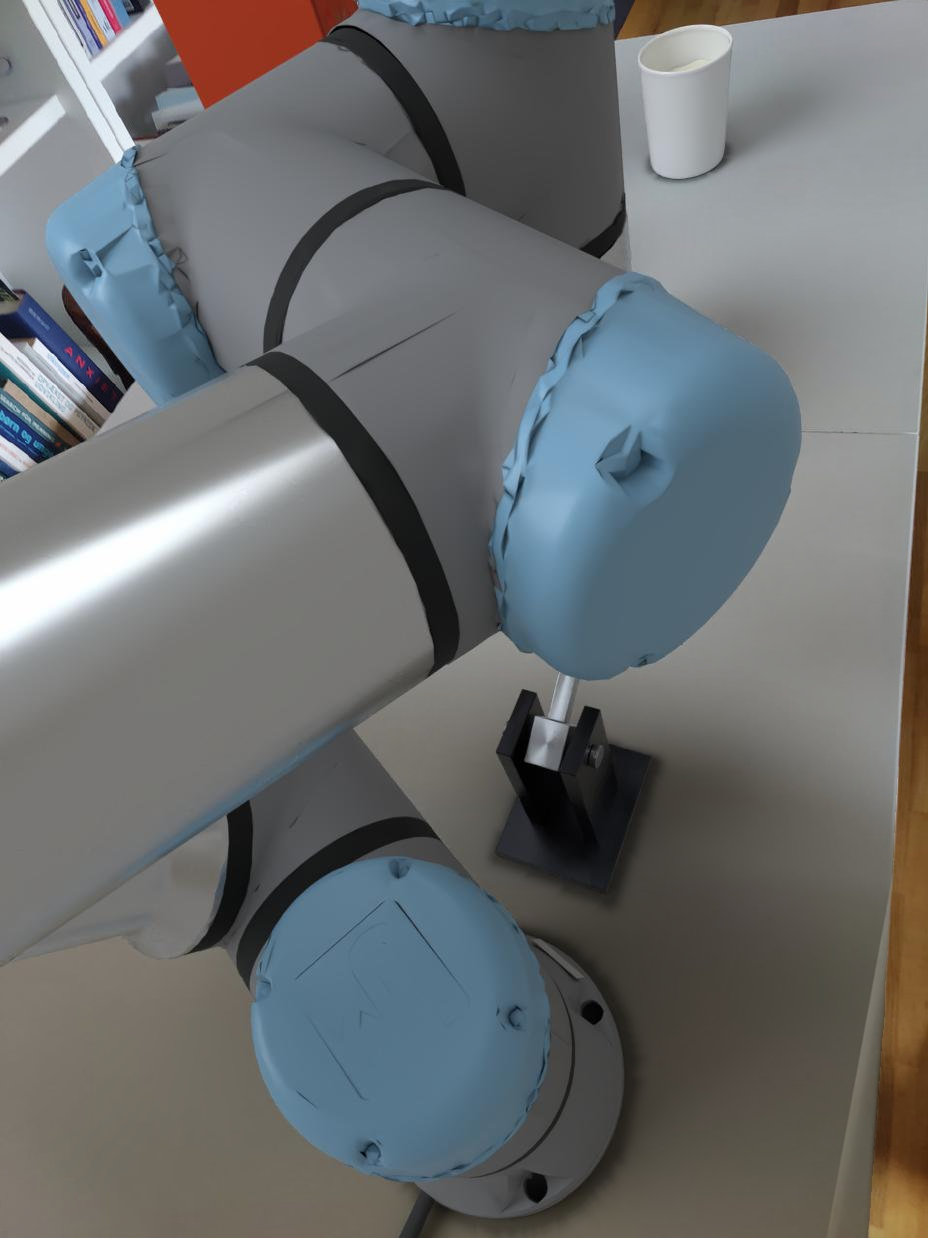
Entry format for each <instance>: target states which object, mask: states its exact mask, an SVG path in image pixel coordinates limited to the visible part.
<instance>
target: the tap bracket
mask: <svg viewBox="0 0 928 1238" xmlns="http://www.w3.org/2000/svg"><path fill="white" fill-rule="evenodd" d="M535 716H542V717H546V715H545V712H544V709H543V706H542V703H541V700H540V698H539V695H538V692H536V691H532V690H529V689H525V688H522V689H521V690H520V692H519V695H518V698H517V700H516V703H515V704H514V706H513V709H512V711H511V714H510V717H509V719H508V720H506V723H505V725H504V726H503V730H502V735H501V738H500V740H499V742H498V744H497V747H496V749H495V754H496V756H497V758H498V760H499V762H500V764H501V766H502V768H503V769H504V773H505V774H506V776H507V778H508V780H509V782H510V784H511V787H512V788H513V790H514V792H515V794H516V798H515V800H514V803H513V805H512V808H511V811H510V813H509V816H508V817H507V821H506V823H505V825H504V827H503V829H502V833H501V836H500V838H499V841H498V843H497V846H496V848H495V850H494V853H495V854H496V856H500V857H502V858H505V859H508V860H510V861H512V862H513V861H514V862H515V863H516V862H517V863H519V864H522V865H524V866H527V867H529V868H530V867H531V868H533V869H536V870H538V871H541V872H544V873H547V874H549V875H552V876H555V877H558V878H561V879H563V880H567V881H569V882H571V883H575V884H578V885H581V886H583V887H586V888H589V889H592V890H595V891H597V892H600V893H602V894H606V895H607V894H608V893H609V890H610V887H611V884H612V881H613V877H614V875H615V873H616V869H617V865H618V863H619V859H620V856H621V853H622V851H623V848H624V844H625V843H626V842H625V841H626V838H627V836H628V832H629V830H630V826H631V823H632V821H633V817H634V815H635V811H636V809H637V805H638V802H639V799H640V796H641V794H642V790H643V787H644V785H645V781H646V778H647V776H648V773H649V769H650V767H651V763H652V759H653V758H652V755H650V754H646V753H644V752H640V751H636V750H633V749H629V748H625V747H621V746H619V745H616V744H615V745H614V744H612V743H609V740H608V736H607V732H606V727H605V723H604V718H603V713H602V711H601V709H600V708H597V707H593V706H590V705H583V708H582V711H581V714H580V716H579V718H578V722H577V724H576V725H577V726H576V729H575V732H574V734H573V737H572V739H571V742H570V745H569V747H568V750H567V752H566V755H565V758H564V760H563V763H562V766H561V768H560V771H559V772H557V771H554V770H550V769H547V768H544V767H540V766H537V765H534V764H531V763H527V762H525V761H524V759H525V755H526V751H527V747H528V743H529V739H530V735H531V731H532V727H533V723H534V719H535Z"/></svg>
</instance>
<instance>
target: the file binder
mask: <svg viewBox="0 0 928 1238" xmlns="http://www.w3.org/2000/svg"><path fill="white" fill-rule="evenodd" d="M152 2H153V4H154V7H155V8H156V11H157V13H158V15H159V17H160V19H161V22H162V23H163V25H164V27H165V30H166V32H167V34H168V36H169V38H170V40H171V42H172V44H173V46H174V49H175V50H176V52H177V54H178V57H179V58H180V61H181V63H182V65H183V67H184V69H185V71H186V73H187V76H188V77H189V80H190V82H191V83H192V86H193V88H194V90H195V92H196V94H197V96H198V98H199V101H200V103H201V105H202V107H203V110H205V109H207V108H209V107H210V106H212V105H214V104H215V103H217V102H219V101H220V100H222V99H224V98H225V97H227V96H229V95H230V94H232V93H234V92H235V91H237V90H239V89H240V88H242V87H244V86H246V85H247V84H249V83H251V82H252V81H254V80H256V79H257V78H259V77H261V76H262V75H264V74H266V73H267V72H269V71H271V70H272V69H274V68H276V67H277V66H279V65H281V64H282V63H284V62H286V61H288V60H289V59H291V58H293V57H294V56H296V55H298V54H299V53H301V52H303V51H304V50H306V49H308V48H309V47H311V46H313V45H314V44H315V43H316V42H318V41H319V40H321V39H323V38H325V37H326V36H327V34H328V33H329V32H330V30H331V29H332V28H333V27H335V26H337V25H338V24H340V23H341V22H343V21H345V20H346V19H348V18H350V17H351V16H352V15H353V14H354V13H355V12H356V11H357V10H358V9H359V7H358V2H356V1H354V0H152Z"/></svg>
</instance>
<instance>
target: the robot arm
mask: <svg viewBox="0 0 928 1238" xmlns="http://www.w3.org/2000/svg"><path fill="white" fill-rule="evenodd" d="M354 1H356V2H357V4H358V7H359V9H358V10H357V11H356V12H355V13H354V14H353V15H352V16H351V17H350V18H348V19H346V20H345V21H343V22H341V23H340V24H338V25H337V26H335V27H333V28H332V29H331V30H330V32H329V33H328V34H327V36H326V37H325V38H323V39H321V40H319V41H318V42H316V43H315V44H314V45H313V46H311V47H309V48H308V49H306V50H304V51H303V52H301V53H299V54H298V55H296V56H294V57H293V58H291V59H289V60H288V61H286V62H284V63H282V64H281V65H279V66H277V67H276V68H274V69H272V70H271V71H269V72H267V73H266V74H264V75H262V76H261V77H259V78H257V79H256V80H254V81H252V82H251V83H249V84H247V85H246V86H244V87H242V88H240V89H239V90H237V91H235V92H234V93H232V94H230V95H229V96H227V97H225V98H224V99H222V100H220V101H219V102H217V103H215V104H214V105H212V106H210V107H209V108H207V109H203V110H202V111H200V112H198V113H197V114H195V115H193V116H192V117H190V118H189V119H187V120H185V121H183V122H182V123H180V124H178V125H176V126H175V127H173V128H172V129H170V130H169V131H167V132H165V133H163V134H161V135H159V136H158V137H156V138H155V139H153V140H152V141H150V142H148V143H146V144H145V145H143V146H141V145H140V143H138V144H136V145H133V146H131V147H129V148H127V149H125V150H124V152H123V153H122V156H121V159H120V160H118V161H117V162H116V163H115V164H114V165H112V166H111V167H109V168H108V169H107V170H105V171H104V172H102V173H101V174H100V175H98V176H97V177H96V178H94V179H93V180H92V181H91V182H89V183H87V184H86V185H85V186H84V187H82V188H81V189H80V190H78V191H77V192H75V193H74V194H73V195H71V196H70V197H68V198H67V199H66V200H65V201H63V202H62V203H61V204H59V205H57V206H56V208H55V209H54V210H53V212H52V213H51V215H50V216H49V218H48V220H47V222H46V225H45V231H44V241H45V242H44V243H45V248H46V251H47V252H46V253H47V255H48V258H49V260H50V262H51V265H52V267H53V268H54V269H55V271H56V273H57V274H58V276H59V278H60V280H61V281H62V283H63V284H64V286H65V288H66V289H67V290H68V292H69V293H70V295H71V297H72V298H73V299H74V301H75V302H76V304H77V305H78V306H79V308H80V309H81V310H82V312H83V313H84V315H85V316H86V317H87V319H88V321H90V323H91V325H92V326H93V327H94V329H95V330H96V331H97V332H98V334H99V335H100V337H101V338H102V339H103V341H104V342H105V344H106V345H107V346H108V348H109V349H110V350H111V351H112V352H113V354H114V355H115V356H116V359H118V360H119V362H120V363H121V364H122V365H123V367H124V368H125V369H126V370H127V372H128V373H129V374H130V375H131V377H132V378H133V379H134V381H135V382H136V383H137V384H138V385H139V386H140V388H141V389H142V391H144V393H145V394H146V395H147V396H148V397H149V399H150V400H151V401H152V402H153V403H154V404H155V407H154V408H150V409H149V410H147V411H145V412H142V413H141V414H138V415H136V416H135V417H134V416H133V417H132V418H130V419H129V420H128V419H127V420H126V421H124V422H122V423H119V424H118V425H116V426H114V427H111V428H110V429H107V430H105V431H103V432H101V433H99V434H97V435H95V436H92V437H91V438H89V439H87V440H84V441H83V442H80V443H78V444H77V445H74V446H72V447H70V448H68V449H66V450H64V451H62V452H60V453H58V454H55V455H54V456H51V457H49V458H48V459H45V460H43V461H41V462H39V463H37V464H35V465H33V466H31V467H29V468H27V469H25V470H23V471H21V472H18V473H17V474H15V475H12V476H10V477H8V478H6V479H4V480H2V481H0V969H2V968H3V967H5V966H6V965H7V964H9V963H15V962H18V961H22V960H26V959H30V958H31V959H32V958H35V957H39V956H43V955H48V954H52V953H55V952H60V951H64V950H67V949H72V948H76V947H81V946H85V945H89V944H94V943H98V942H102V941H105V940H111V939H114V938H118V937H121V939H123V940H124V941H125V942H127V943H128V944H129V945H130V946H131V947H132V948H134V949H135V950H136V951H138V952H139V953H141V954H142V955H144V956H146V957H148V958H150V959H155V960H158V961H161V960H170V959H176V958H180V957H184V956H186V955H191V954H195V953H198V952H204V951H207V950H210V949H214V948H222V949H224V950H225V951H226V953H227V956H228V957H229V959H230V960H231V962H232V963H233V965H234V966H235V968H236V970H237V973H238V974H239V977H240V978H241V980H242V981H243V983H244V984H245V987H246V988H247V990H248V992H249V993H250V995H251V997H252V999H253V1002H252V1003H251V1004H250V1028H251V1037H252V1043H253V1049H254V1054H255V1059H256V1063H257V1065H258V1069H259V1072H260V1075H261V1077H262V1080H263V1082H264V1084H265V1087H266V1089H267V1091H268V1093H269V1095H270V1096H271V1099H272V1100H273V1103H274V1104H275V1105H276V1107H277V1108H278V1110H279V1111H280V1113H281V1115H283V1117H284V1118H285V1120H286V1121H287V1122H288V1123H289V1124H290V1125H291V1126H292V1127H293V1128H294V1129H295V1131H296V1132H297V1133H298V1134H299V1135H300V1136H301V1137H302V1138H304V1139H305V1140H306V1142H308V1143H309V1144H311V1145H312V1146H313V1147H315V1148H316V1149H317V1150H319V1151H320V1152H322V1153H323V1154H326V1155H327V1156H329V1157H331V1158H333V1159H334V1160H337V1161H339V1162H340V1163H342V1164H343V1165H345V1166H347V1167H350V1168H352V1169H355V1170H356V1171H358V1172H359V1173H362V1174H365V1175H367V1176H371V1177H377V1178H382V1179H384V1180H386V1181H390V1182H391V1181H392V1182H399V1183H401V1182H402V1183H413V1184H414V1185H415V1186H416V1187H417V1188H418V1189H419V1190H420V1192H419V1194H418V1196H417V1198H416V1200H415V1202H414V1204H413V1207H412V1209H411V1211H410V1213H409V1215H408V1217H407V1219H406V1221H405V1224H404V1226H403V1228H402V1230H401V1232H400V1234H399V1236H398V1238H419V1236H420V1234H421V1232H422V1230H423V1228H424V1226H425V1224H426V1221H427V1219H428V1217H429V1215H430V1212H431V1211H432V1208H433V1206H434V1205H435V1202H436V1203H438V1204H439V1205H441V1206H443V1207H445V1208H447V1209H449V1210H451V1211H454V1212H456V1213H460V1214H462V1215H465V1216H468V1217H472V1218H477V1219H484V1220H509V1219H515V1218H521V1217H526V1216H529V1215H533V1214H537V1213H539V1212H542V1211H544V1210H547V1209H549V1208H551V1207H552V1206H555V1205H556V1204H558V1203H560V1202H562V1201H564V1200H565V1198H567V1197H569V1196H570V1195H572V1194H573V1193H574V1192H575V1191H576V1190H577V1189H578V1188H580V1187H581V1186H582V1185H583V1184H584V1183H585V1181H586V1180H587V1179H588V1178H589V1177H590V1176H591V1175H592V1174H593V1172H594V1171H595V1169H596V1168H597V1166H598V1165H599V1164H600V1162H601V1161H602V1159H603V1157H604V1155H605V1154H606V1152H607V1151H608V1148H609V1146H610V1144H611V1143H612V1140H613V1138H614V1136H615V1132H616V1130H617V1126H618V1123H619V1119H620V1115H621V1112H622V1107H623V1100H624V1094H625V1062H624V1053H623V1047H622V1043H621V1038H620V1034H619V1031H618V1027H617V1024H616V1022H615V1019H614V1017H613V1015H612V1011H611V1009H610V1008H609V1005H608V1004H607V1002H606V999H605V997H604V996H603V994H602V992H601V991H600V989H599V988H598V987H597V985H596V984H595V982H594V981H593V979H592V978H591V976H589V974H588V973H587V972H586V971H585V970H584V969H583V967H581V966H580V964H579V963H578V962H576V961H575V960H574V959H573V958H572V957H571V956H570V955H568V954H567V953H565V952H564V951H563V950H561V949H559V948H558V947H557V946H555V945H553V944H552V943H550V942H547V941H545V940H543V939H541V938H538V937H536V936H533V935H530V934H528V933H527V934H526V933H524V932H523V930H522V929H521V928H520V926H519V925H518V923H517V922H516V920H515V919H514V918H513V916H512V915H511V913H509V911H507V910H506V909H505V907H504V906H503V905H502V903H500V901H498V899H497V898H495V897H494V896H493V895H492V894H491V893H490V892H489V891H487V890H484V889H482V887H481V886H480V885H479V884H478V882H477V881H476V880H475V879H474V878H473V876H471V874H470V873H469V872H468V871H467V870H466V868H465V867H464V865H463V864H462V863H461V862H460V861H459V860H458V859H457V857H456V856H455V855H454V853H453V852H452V851H451V849H449V848H448V847H447V845H446V844H445V843H444V842H443V841H442V839H441V838H440V837H439V835H438V834H437V833H436V831H434V830H433V827H432V826H431V825H430V824H429V822H428V821H427V820H426V819H425V817H424V816H423V815H422V813H421V812H420V811H419V809H417V807H416V806H415V805H414V804H413V802H412V801H411V800H410V798H409V797H408V796H407V795H406V794H405V792H404V791H403V789H402V787H400V786H399V784H398V783H397V782H396V780H394V778H393V777H392V776H391V775H390V773H389V772H388V771H387V769H386V768H385V767H384V765H383V764H382V763H381V762H380V761H379V759H378V758H377V757H376V755H375V754H374V752H372V750H371V749H370V748H369V746H368V745H367V744H366V743H365V742H364V740H363V739H362V738H361V736H360V735H359V734H358V733H357V732H356V730H355V728H356V727H358V726H359V725H361V724H362V723H364V722H365V721H366V720H368V719H370V718H371V717H372V716H373V715H376V714H377V713H378V712H380V711H381V710H383V709H384V708H386V707H387V706H388V705H390V704H392V703H393V702H395V701H396V700H398V698H400V697H402V696H403V695H405V694H406V693H408V692H409V691H411V690H412V689H414V688H415V687H417V686H418V685H419V684H421V683H422V682H424V681H425V680H427V679H428V678H429V677H431V676H433V675H434V674H435V673H437V672H438V671H440V670H441V669H442V668H444V667H445V666H448V665H451V664H452V663H453V662H455V661H456V660H458V659H460V658H461V657H463V656H464V655H466V654H468V653H469V652H470V651H472V650H474V649H476V648H477V647H478V646H480V645H481V644H482V643H484V642H485V641H487V640H488V639H489V638H491V637H492V636H494V635H497V634H498V633H499V632H501V633H503V635H504V636H506V638H508V640H509V641H511V643H513V644H514V646H515V647H516V648H517V650H518V651H519V652H520V653H522V654H531V655H532V654H535V655H536V656H537V657H538V658H539V659H541V660H542V661H543V662H544V663H546V664H547V665H549V666H550V667H551V668H552V669H554V670H555V671H557V672H558V673H559V672H560V673H562V674H564V675H567V676H570V677H573V678H577V679H580V680H584V681H589V682H591V681H593V682H594V681H605V680H611V679H613V678H614V677H617V676H619V675H620V674H622V673H624V672H627V670H628V669H629V668H630V667H631V668H634V669H641V668H642V667H645V666H647V665H651V664H655V663H657V662H658V661H660V660H663V659H664V658H665V657H667V656H668V655H670V654H671V653H672V652H674V651H675V650H677V649H678V648H679V647H680V646H683V644H684V643H686V642H687V641H688V640H689V639H690V638H691V637H693V635H695V634H696V633H697V632H698V631H699V630H701V628H702V627H703V626H705V625H706V624H707V623H708V622H709V621H710V620H711V619H712V617H713V616H715V615H716V614H717V612H719V611H720V609H721V608H722V607H723V606H724V605H725V604H726V602H727V601H728V600H729V599H730V598H731V597H732V596H733V594H734V593H735V592H736V591H737V589H738V588H739V587H740V586H741V584H742V583H743V582H744V580H745V579H746V578H747V576H748V574H749V573H750V572H751V570H752V569H753V567H754V566H755V564H756V563H757V561H758V559H760V556H761V555H762V553H763V552H764V550H765V548H766V547H767V544H768V542H769V541H770V539H771V537H772V536H773V534H774V533H775V530H776V528H777V526H778V524H779V523H780V520H781V518H782V515H783V514H784V510H785V508H786V506H787V503H788V501H789V498H790V496H791V492H792V483H793V477H794V473H795V469H796V467H797V464H798V461H799V457H800V453H801V447H802V439H803V433H802V432H803V430H802V413H801V409H800V404H799V399H798V396H797V394H796V391H795V389H794V387H793V385H792V383H791V380H790V378H789V376H788V374H787V373H786V372H785V370H784V369H783V367H781V365H780V364H779V363H778V362H777V361H776V359H775V358H774V357H773V356H771V354H769V353H768V352H766V351H765V350H764V349H762V348H760V347H758V346H757V345H755V344H754V343H752V342H750V341H749V340H747V339H746V338H743V337H742V336H740V335H738V334H737V333H735V332H733V331H732V330H731V329H730V330H729V329H728V328H726V327H724V326H723V325H721V324H719V323H718V322H716V321H714V320H713V319H711V318H709V317H708V316H706V315H704V314H703V313H701V312H700V311H698V310H696V309H695V308H693V307H692V306H690V305H688V304H687V303H685V302H684V301H682V300H681V299H679V298H678V297H676V296H674V295H672V294H671V293H669V292H668V290H667V289H666V288H665V287H664V285H663V284H662V283H661V282H660V281H659V280H657V279H656V278H654V277H651V276H649V275H646V274H643V273H640V272H637V271H634V270H633V263H632V253H631V252H632V251H631V241H630V240H631V239H630V230H629V229H630V228H629V227H630V226H629V216H628V212H627V201H626V199H627V198H626V191H625V189H626V188H625V175H624V162H623V161H624V160H623V148H622V147H623V146H622V145H623V144H622V133H621V116H620V115H621V114H620V102H619V88H618V73H617V72H618V71H617V59H616V56H617V55H616V43H615V30H614V29H615V28H614V27H615V26H614V21H615V20H616V5H615V2H614V0H354Z"/></svg>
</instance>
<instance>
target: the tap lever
mask: <svg viewBox="0 0 928 1238" xmlns="http://www.w3.org/2000/svg"><path fill="white" fill-rule="evenodd" d="M580 680H581V679H577V678H573V677H570V676H567V675H564V674H562V673H560V672H559V671H558V675H557V678H556V683H555V687H554V690H553V695H552V699H551V702H550V706H549V711H548V715H547V716H545V717H542V716H535V719H534V723H533V727H532V731H531V735H530V739H529V743H528V747H527V751H526V755H525V759H524V761H525V762H527V763H531V764H534V765H537V766H540V767H544V768H547V769H550V770H554V771H557V772H559V771H560V768H561V766H562V763H563V760H564V758H565V755H566V752H567V750H568V747H569V745H570V742H571V739H572V737H573V734H574V732H575V729H576V726H577V724H573V723H570V719H571V715H572V712H573V708H574V704H575V700H576V696H577V693H578V689H579V685H580Z"/></svg>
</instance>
